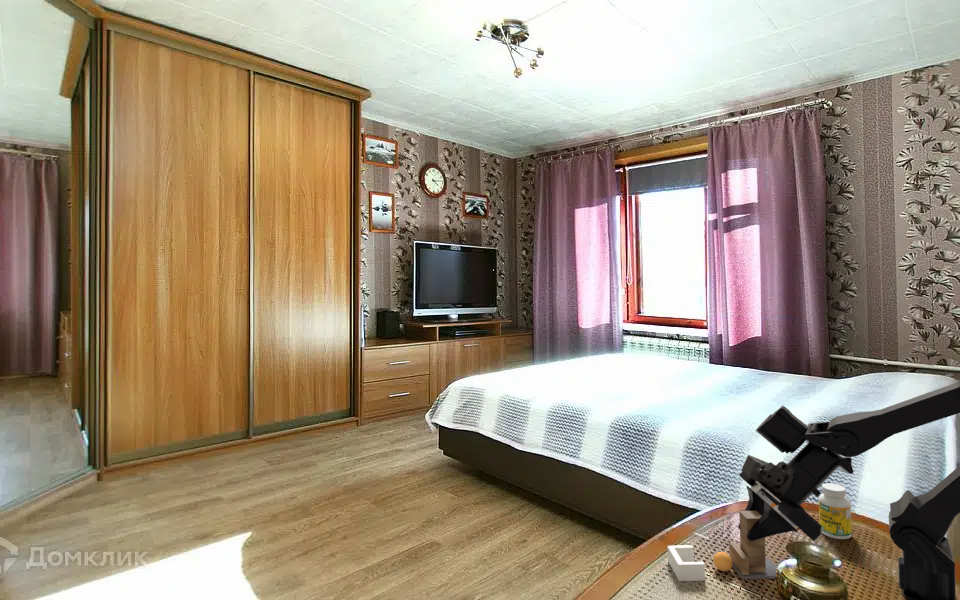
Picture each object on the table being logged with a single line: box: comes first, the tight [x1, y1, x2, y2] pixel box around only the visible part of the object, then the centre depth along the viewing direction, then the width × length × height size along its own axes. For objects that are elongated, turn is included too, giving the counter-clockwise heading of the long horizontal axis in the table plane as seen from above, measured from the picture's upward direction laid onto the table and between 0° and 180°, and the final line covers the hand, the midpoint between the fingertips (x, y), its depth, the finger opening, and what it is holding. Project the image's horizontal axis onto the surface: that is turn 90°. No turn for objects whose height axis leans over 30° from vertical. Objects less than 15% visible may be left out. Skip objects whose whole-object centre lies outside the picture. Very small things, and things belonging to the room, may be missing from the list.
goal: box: [667, 544, 706, 582], centre depth 94 cm, size 4×6×3 cm
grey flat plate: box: [732, 558, 778, 580], centre depth 93 cm, size 8×6×1 cm
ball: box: [712, 551, 733, 572], centre depth 93 cm, size 3×3×3 cm
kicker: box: [728, 510, 766, 575], centre depth 93 cm, size 4×6×10 cm
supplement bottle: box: [818, 482, 853, 540], centre depth 104 cm, size 5×5×10 cm
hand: (744, 534), depth 93 cm, fingers closed on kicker, 3 cm apart
